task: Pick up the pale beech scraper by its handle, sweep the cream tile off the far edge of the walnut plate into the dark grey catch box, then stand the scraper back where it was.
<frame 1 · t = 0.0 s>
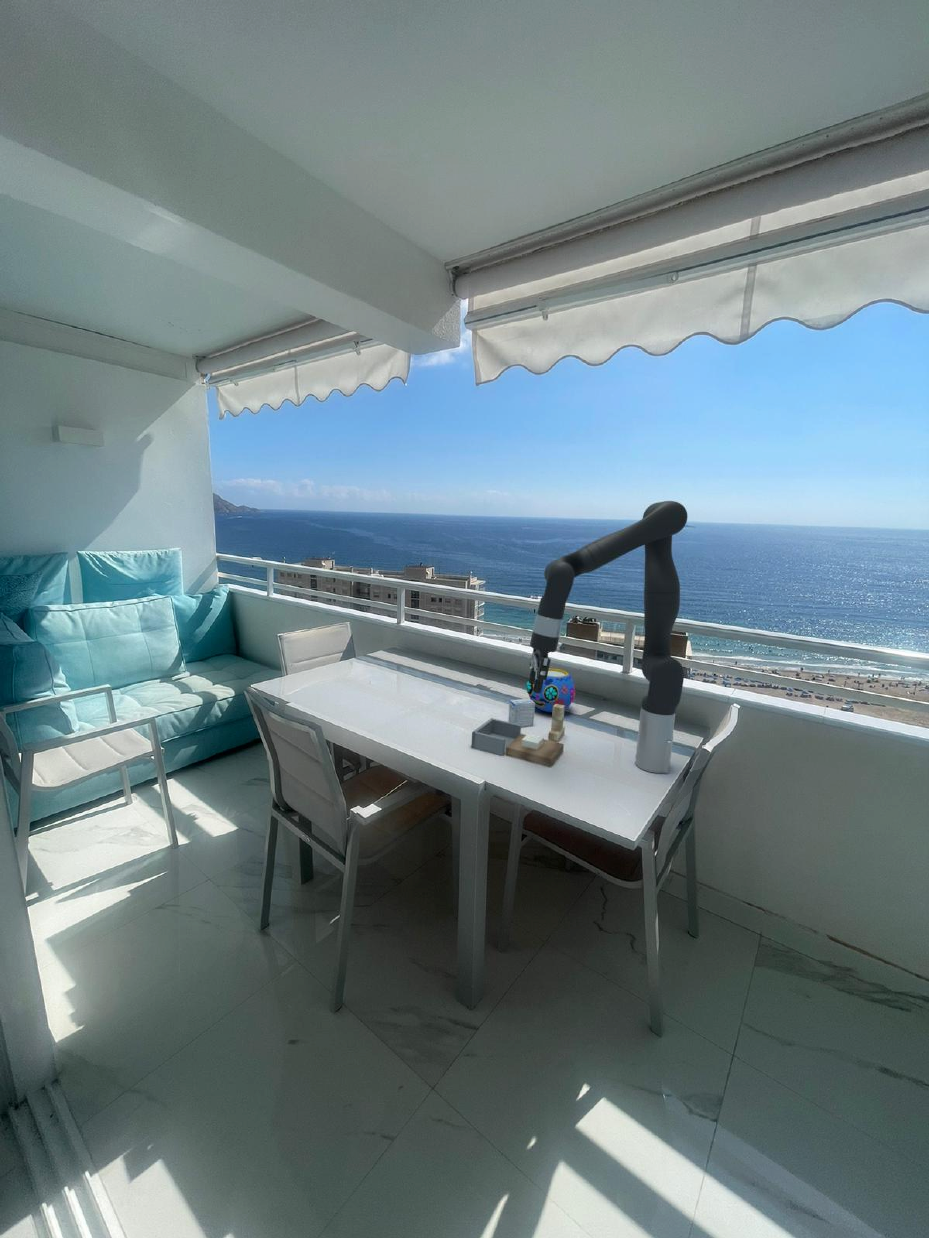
hand: (534, 687, 136), 22 cm above the table, tool pointing down, fingers open, 8 cm apart
medicine box: (520, 725, 168), on the table
scraper: (556, 738, 158), on the table
catch box: (496, 743, 151), on the table
walnut plate: (534, 753, 145), on the table
ceramic pot: (549, 710, 183), on the table
cream tile: (532, 744, 146), point 2 cm above the table, touching walnut plate
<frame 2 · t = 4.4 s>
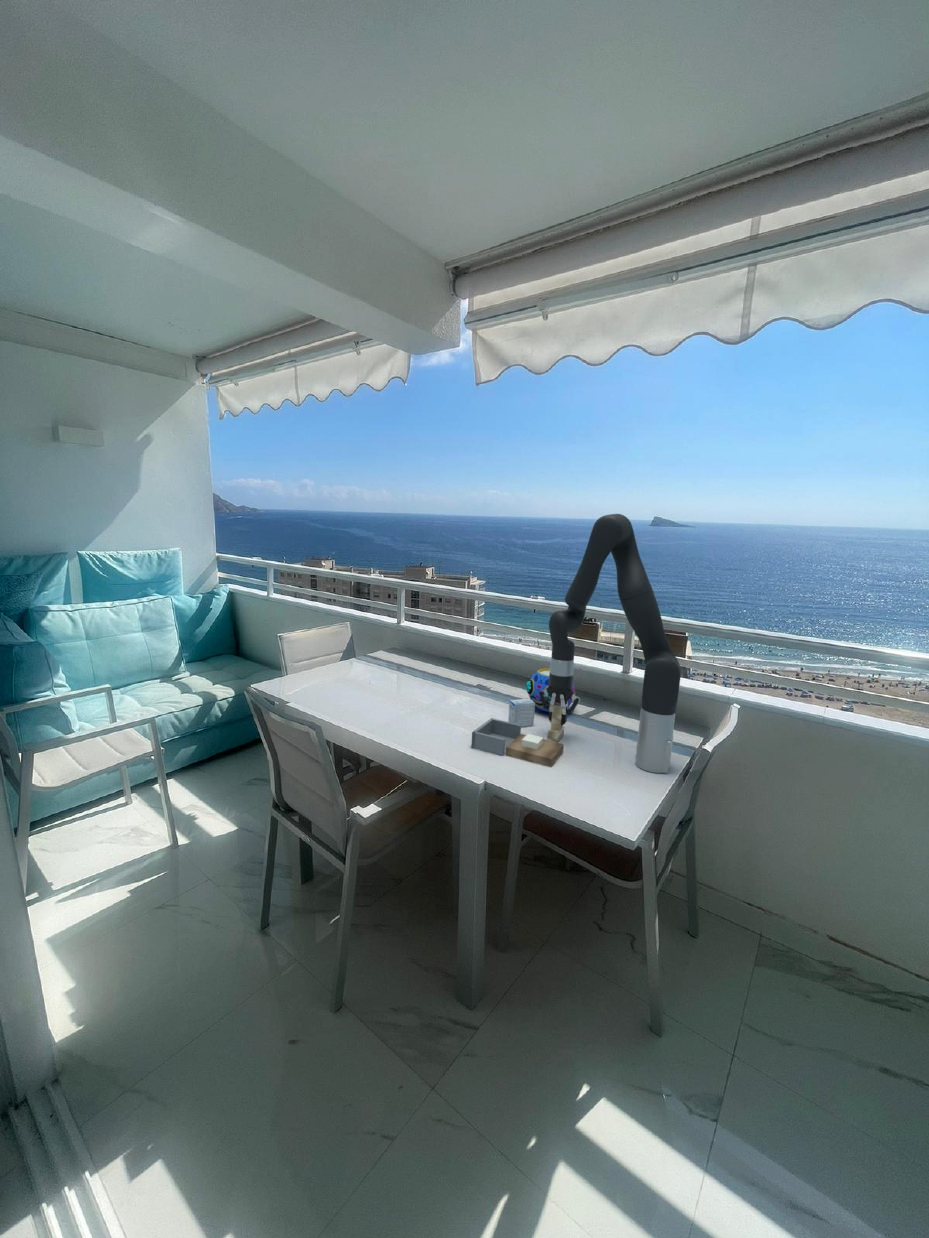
hand: (557, 723, 157), 5 cm above the table, tool pointing down, fingers closed on scraper, 3 cm apart
scraper: (555, 737, 157), on the table, touching gripper
everything else where it was.
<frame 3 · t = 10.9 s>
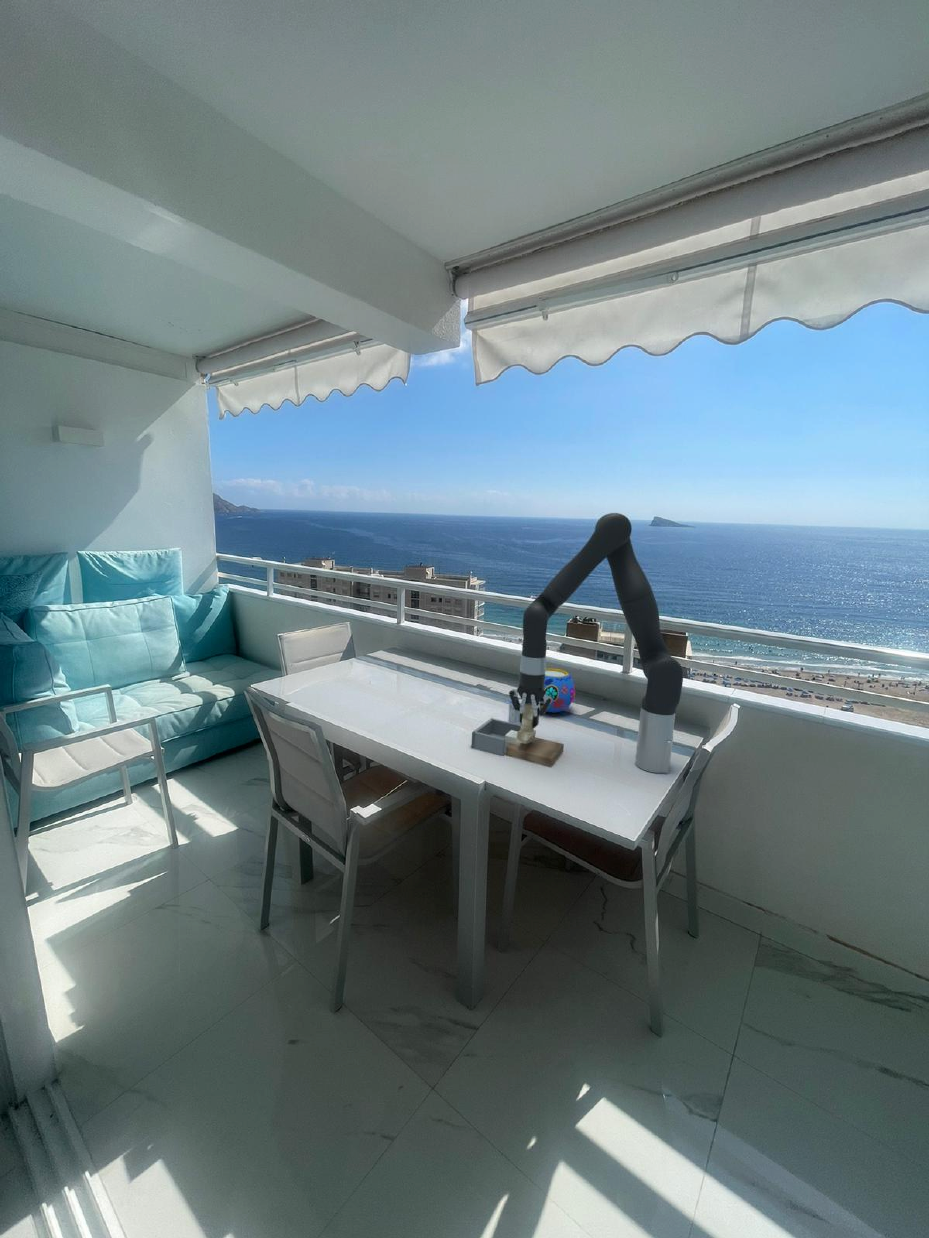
hand: (528, 725, 145), 8 cm above the table, tool pointing down, fingers closed on scraper, 3 cm apart
scraper: (525, 740, 144), point 4 cm above the table, tilted 13°, touching gripper
cream tile: (515, 740, 148), point 3 cm above the table, touching walnut plate
everything else where it was.
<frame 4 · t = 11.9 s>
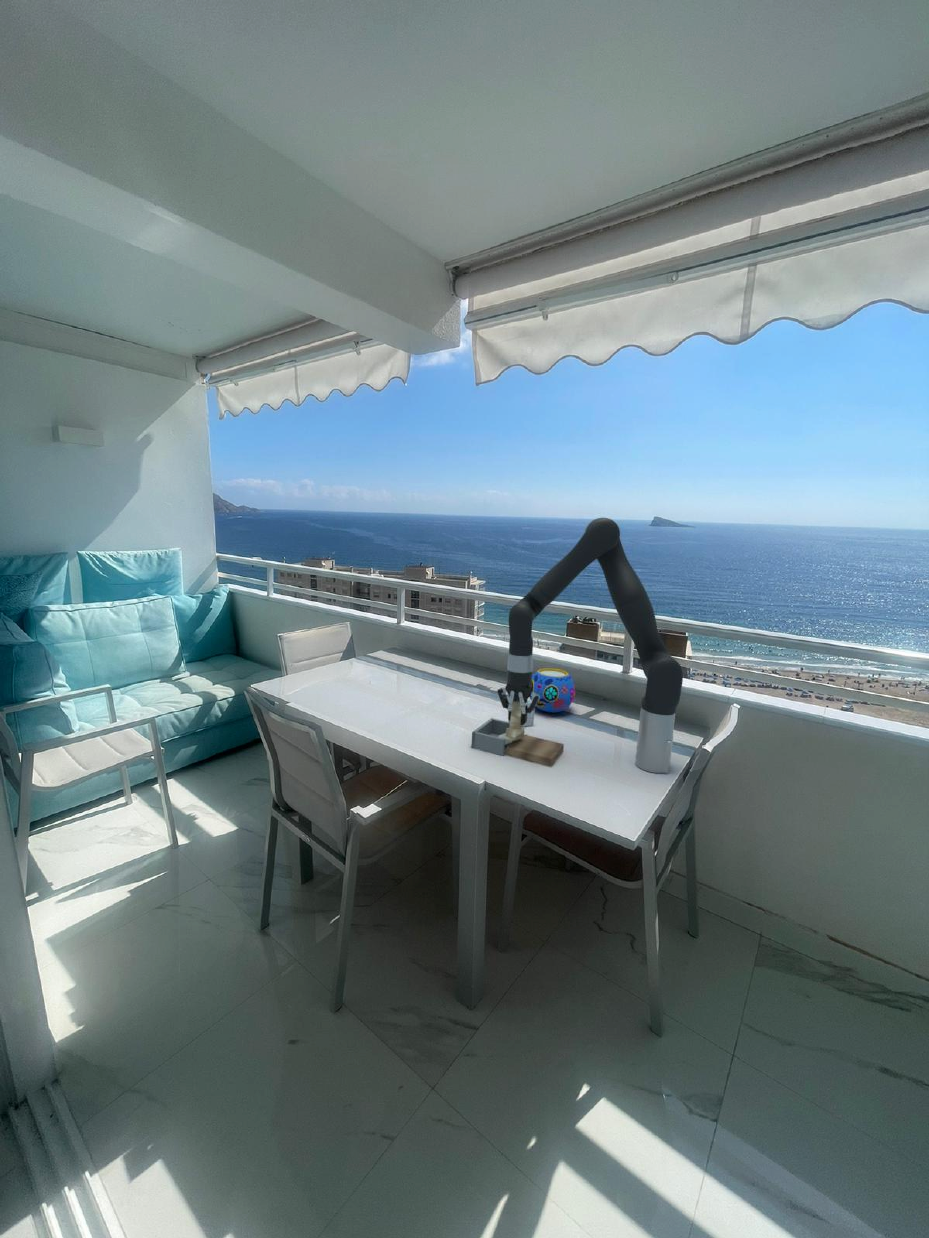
hand: (517, 722, 147), 8 cm above the table, tool pointing down, fingers closed on scraper, 3 cm apart
scraper: (514, 738, 146), point 4 cm above the table, tilted 13°, touching cream tile, gripper
cream tile: (506, 741, 149), point 2 cm above the table, tilted 30°, touching catch box, scraper
everything else where it was.
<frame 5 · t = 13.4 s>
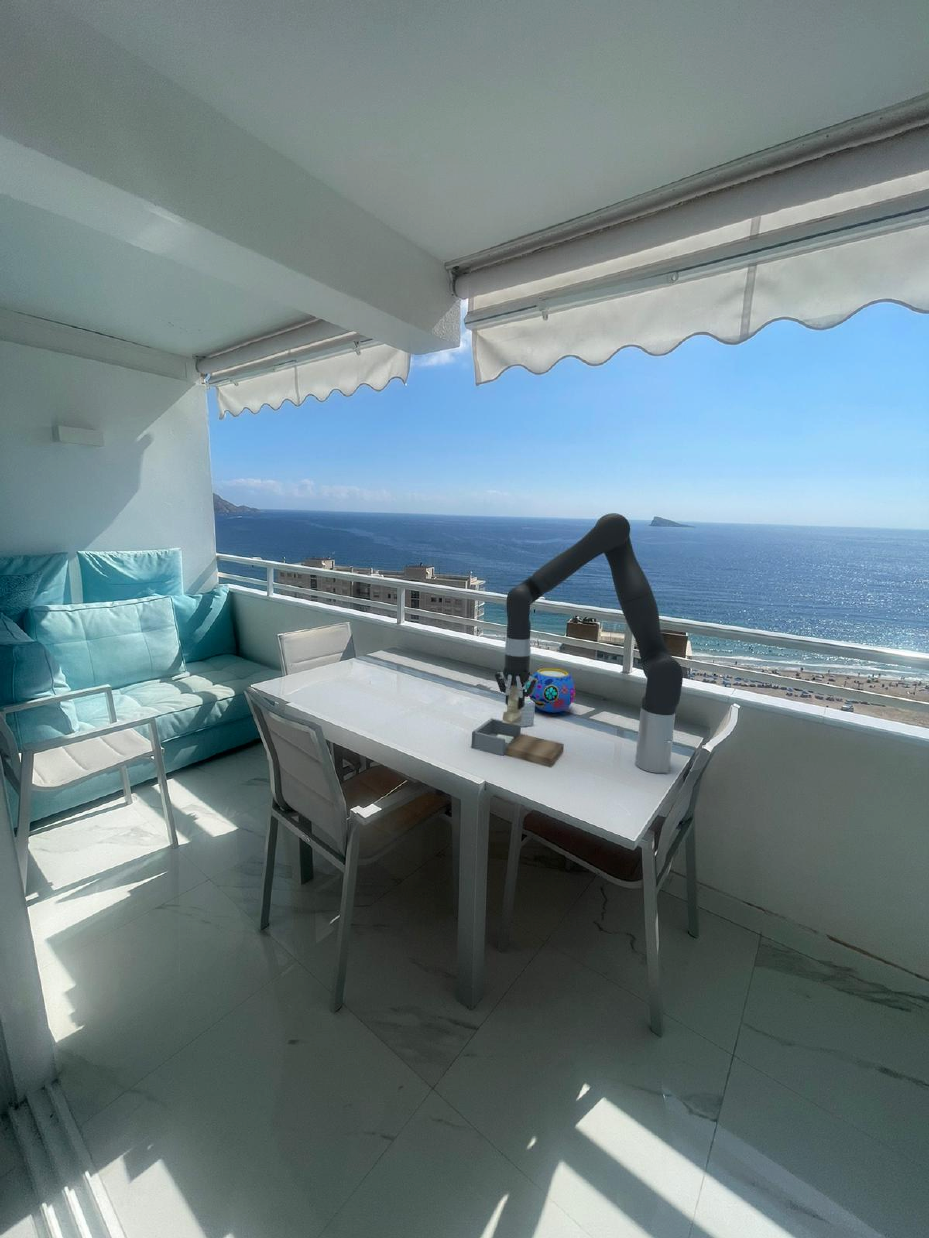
hand: (514, 707, 147), 13 cm above the table, tool pointing down, fingers closed on scraper, 3 cm apart
scraper: (511, 722, 146), point 9 cm above the table, tilted 13°, touching gripper
cream tile: (503, 744, 150), resting on catch box
everything else where it was.
when the fingers open (6 cm above the table, at t = 18.4 s): scraper drops 2 cm, on the table.
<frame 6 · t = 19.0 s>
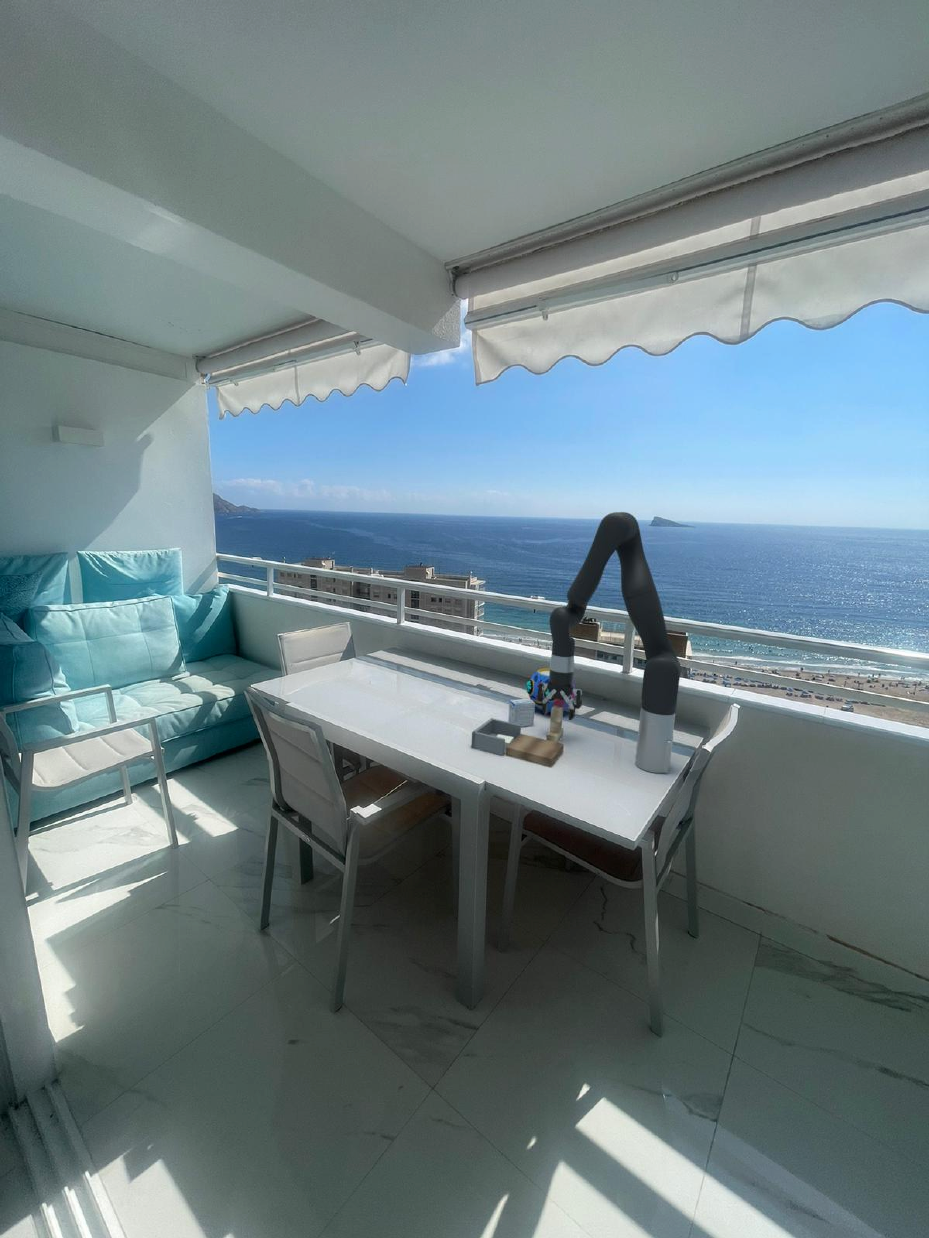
hand: (557, 716, 156), 7 cm above the table, tool pointing down, fingers open, 8 cm apart
scraper: (554, 740, 156), on the table
everything else where it was.
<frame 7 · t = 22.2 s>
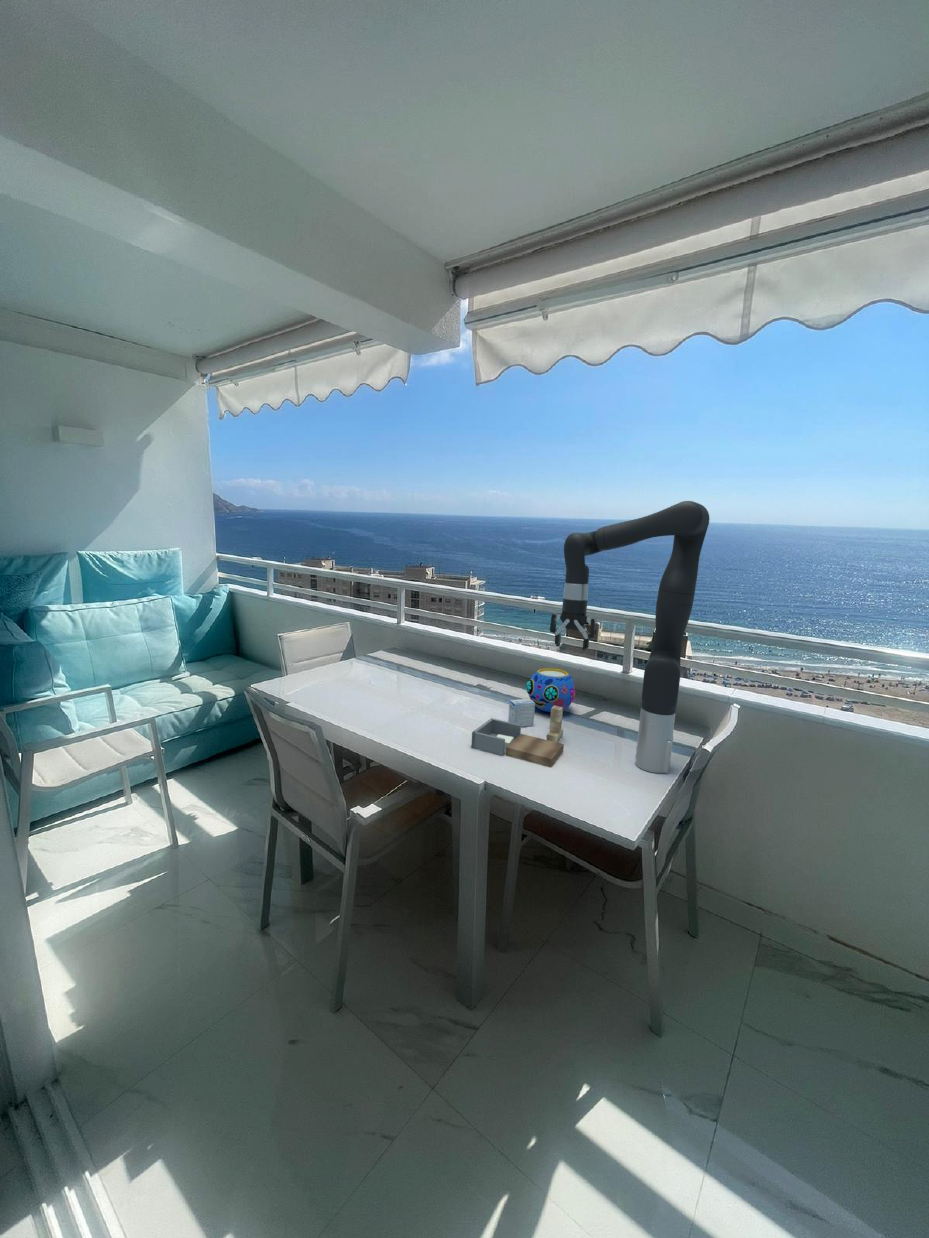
hand: (571, 648, 154), 30 cm above the table, tool pointing down, fingers open, 8 cm apart
nothing on the table moved.
at the end: cream tile inside the target area on the catch box (2.0 cm from its centre), point 0.3 cm above the catch box's base; scraper tilted 0°; the gripper is holding nothing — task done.
